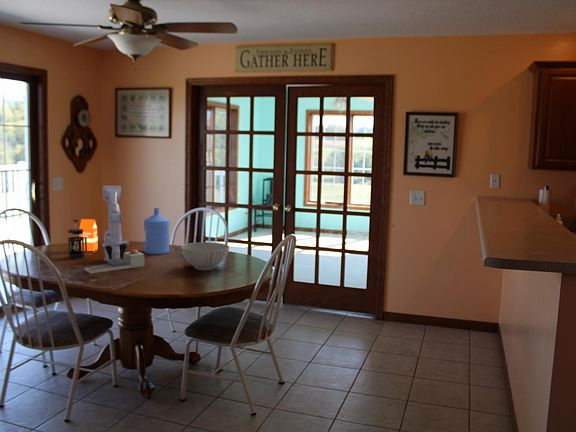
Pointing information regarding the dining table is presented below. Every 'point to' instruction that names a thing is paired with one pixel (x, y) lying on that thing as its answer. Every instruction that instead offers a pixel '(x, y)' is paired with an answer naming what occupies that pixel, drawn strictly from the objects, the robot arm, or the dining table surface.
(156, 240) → the water jug
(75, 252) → the french press
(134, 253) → the plunger
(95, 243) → the orange juice
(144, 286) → the dining table surface
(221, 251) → the decorative bowl
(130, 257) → the track
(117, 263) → the carriage
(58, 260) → the dining table surface
